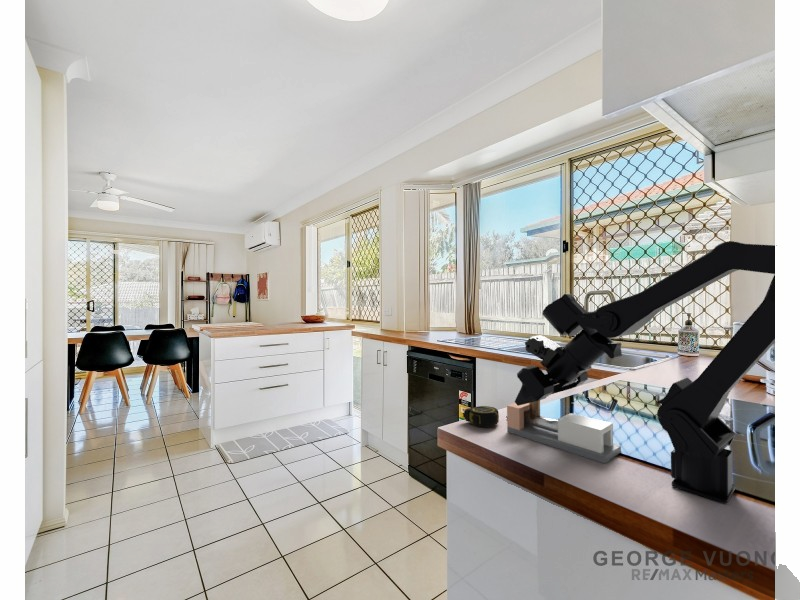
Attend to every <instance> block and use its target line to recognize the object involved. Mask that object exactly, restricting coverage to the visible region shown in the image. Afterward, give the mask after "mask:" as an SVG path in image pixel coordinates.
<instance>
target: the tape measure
mask: <svg viewBox="0 0 800 600" xmlns="http://www.w3.org/2000/svg"><path fill="white" fill-rule="evenodd" d="M462 417H463V418H464V420H465V421H466V422H469V423H471V424H472V425H474V426H477V427H484V428H485V427H486V428H487V427H493V426H496V425H497V424H499V421H500V420H499V417H500V416H499V411H498V409H497V408H496V407H494V406H489V405H488V406H487V405H480V406H474V407H470V408H464V411H463V412H462Z"/></svg>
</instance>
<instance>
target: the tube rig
mask: <svg viewBox="0 0 800 600" xmlns="http://www.w3.org/2000/svg"><path fill="white" fill-rule="evenodd" d="M524 412H527V413H529V403H527V404H523V405H519V406H518V405H517V404H516V403H515V402H513V403H510V404H507V405H506V420H507V423H506V424H507V425H506V427H507V433H511V434H513V435H516V436H519V437H522V438H526V439H528V440H532V441H534V442H537V443H541V444H545V445H546V446H550V447H553V448H556V449H559V450H562V451H565V452H568V453H572V454H575V455H578V456H580V457H584V458H587V459H589V460H593V461H596V462H599V463H602V464H606V463H608V462H609V461H610V460H612V459H614V457H616V456H618V455H619V454H620V453H622V445H620V444H616V443H614V423H613V422H609V421H605V420H601V419H597V418H593V417H589V416H585V415H580V414H576V413H573V412H569V413H568V414H565V415H563V416H561V417H559V418H557V421H558V433H555V432H552V431H549V430H545V429H542V428H538V427H535V426H531V425H528V424H525V423H524Z"/></svg>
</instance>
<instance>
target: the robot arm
mask: <svg viewBox="0 0 800 600" xmlns="http://www.w3.org/2000/svg"><path fill="white" fill-rule="evenodd" d="M737 271H747V272H754V273H756V272H757V273H763V274H770V275H772V274H773V277H772V279H771V281H770V284H769V286H768V289H767V291H766V294H765V296H764V298H763V300H762V302H761V303H760V304H759V306H758V307H757V308H756V309H755V310H754V311H753V313H752V314H751V315H750V316H748V319H746V321H745V322H744V323H743V324H742V326H741V327H740V328H739V329H738V330H737V331H736V332H735V334H734V335H733V336H732V337H731V339H729V340H728V342H727V343H726V344H725V345H724V347H723V348H721V350H720V351H719V352H718V354H716V355H715V357H714V358H713V359H712V361H711V362H709V364H708V365H707V367H705V369H704V370H703V371H702V372H701V374H700V375H699V376H698V377H697V378H695V380H694V381H692V380H691V379H690V378H689V377H685V378H682V379H680V380H678V381H676V382H673V383H672V384H671V385H670V387H669V389H668V392H667V393H666V395H665V396H664V397H663V398H661V399H659V400H657V401H656V403H657V404H659V407H658V409H657V411H656V416H657V419H658V422H659V424H660V426H661V427H662V429H663V430H664V431H666V433H667V434H668V437H669V439H670V442H671V444H672V446H673V450H671V452H670V476H671V478H672V479H673V480H672V481H671V486H672V487H673V488H677V489H679V490H683V491H686V492H688V493H692V494H696V495H698V496H701V497H703V498H707V499H711V500H713V501H716V502H720V503H723V504H727V503H729V500H730V499H731V498H732V496H733V493H734V492H735V490H736V485H735V484H733V451H732V450H731V449H726V448H727V447H728V446H730V445H731V444H732V442H733V441H734V439H735V438H736V432H735V431H733V430H732V429H731V428H730V426H729V425H728V424H726V423H725V422H724V421H723V420H722V419H721V418H720V417H719V416H720V413H721V412H722V410H723V408H724V406H725V405H726V402H727V399H728V397H729V395H730V392H731V390H733V389H734V388H735V387H736V385H738V383H739V382H740V381H742V379H743V378H744V377H745V376H746V375H747V373H748V372H749V371H750V370H751V369H752V368H753V367H754V366H755V365H756V364H757V363H758V362H759V361H760V360H761V358H762V357H763V356H764V355H765V354H766V353H767V352H768V351H769V350H770V348H771V347H773V346H774V344H775V343H776V342H775V245H773V244H758V243H757V244H756V243H754V244H753V243H743V242H739V241H734V240H731V241H724V242H721V243H719V244H718V245H716V246H715V247H714V248H712V250H710V251H709V252H706V254H704V255H701V256H700V257H698V258H697V259H695V260H693V261H692V262H690V263H688V264H686V265H684V266H683V267H682V268H680V269H677V270H676V271H674V272H673V273H671V274H670V275H668V276H666V277H664V278H663V279H661V280H659V281H658V282H656V283H654V284H652V285H651V286H649V287H647V288H646V289H644V290H642V291H640V292H639V293H636V294H633V295H629V296H626V297H623V298H620V299H617V300H615V301H611V302H610V303H608V304H607V303H606V304H604V305H602V306H600V307H598V308H597V309H596V310H594V311H587V310H586V309H585V308H584V307H583V306H582V305H581V304H580V303H579V302H578V300H577V299H576V298H575V297H574V296H573V294H572V293H564V294H563V295H562V296H561V297H559V298H556V299H555V300H554V301H552V302H551V303H548V304H547V305H546V306H545V307H544V309H543V310H542V312H541V313H542V316H543V317H544V318H545V319H546V320H547V321H548V323H549V324H550V325H551V326H552V327H553V328H554V330H556V332H557V333H558V334H559V335H560V336H562V337H564V336H568V337H573V336H574V337H573V338H572V339H571V340H569V342H567V343H566V344H565V345H563V346H561V345H560V344H558V342H557V343H556V342H555V341H553V340H552V339H550V338H548V337H546V336H545V335H542V334H541V335H540V334H538V335H531V336H530V337H529V338H528V340H526V341H525V342H524V344H525V350H526V352H527V353H529V354H531V355H533V356H535V357H536V358H538V359H539V360H541V361H540V362H539V363H540V364H541V365H542V367H543V368H545V371H546V373H544V372H543V370H542V369H541V368H540V367H539V366H538V365H537V366H536V365H530V366H526V367H522V368H521V369H520V370H519V371H518V372H517V373H516V377H517V378H518V379H519V381H520V382H521V387H520V389H519V392H518V394H517V395H516V397H515V400H514V403H516V404H517V405H518V406H519V405H523V404H527V403H531V402H535V401H540V402H541V400H544V399H547V397H549V396H551V395H554V394H557V393H562V392H564V391H568V390H571V389H574V388H576V387H579V386H582V385H583V384H584V383H585V382H587V381H588V380H589V373H588V371H590V370H592V368H593V367H592V365H594V364H596V362H597V361H599V359H601V358H602V357H603V356H604V355H607V357H609V358H610V359H613V360H614V359H617V358H621V357H622V356H623V353H622V343H621V342H615V341H613V340H612V339H614V338H618V337H619V338H620V337H624V336H629V335H632V334H634V333H635V334H636V332H637V331H639V330H640V329H642V328H643V327H644V326H646V325H647V324H648V323H649V322H651V320H652V319H653V318H654V317H655V316H656V315H657V314H659V313H660V312H661V311H663V310H665V309H666V308H669V307H670V306H672V305H674V304H676V303H678V302H679V301H682V300H683V299H686V298H687V297H689V296H691V295H693V294H695V293H697V292H699V291H700V290H702V289H704V288H706V287H708V286H710V285H712V284H714V283H715V282H717V281H719V280H721V279H724V278H725V277H727V276H729V275H731V274H732V273H734V272H737Z"/></svg>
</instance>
